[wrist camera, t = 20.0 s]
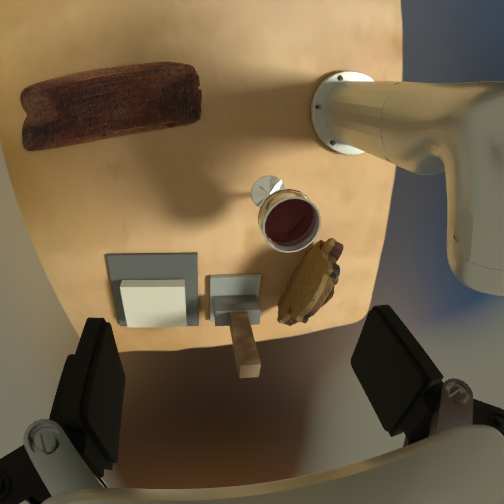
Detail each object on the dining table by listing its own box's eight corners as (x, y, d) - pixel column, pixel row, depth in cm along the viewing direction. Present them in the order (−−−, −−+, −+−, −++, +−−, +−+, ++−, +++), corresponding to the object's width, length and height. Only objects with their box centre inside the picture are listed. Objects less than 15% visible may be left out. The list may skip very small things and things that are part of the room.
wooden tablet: (202, 58, 33) (201, 132, 37) (202, 61, 35) (201, 133, 39) (18, 87, 29) (18, 155, 32) (25, 88, 31) (25, 153, 35)
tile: (184, 286, 46) (186, 326, 50) (184, 278, 48) (186, 318, 52) (119, 287, 44) (127, 327, 48) (122, 278, 46) (129, 318, 50)
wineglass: (242, 213, 45) (258, 253, 35) (247, 168, 42) (265, 194, 32) (287, 215, 47) (315, 253, 36) (294, 171, 43) (326, 198, 33)
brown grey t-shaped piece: (256, 294, 51) (277, 361, 38) (254, 309, 53) (274, 376, 40) (213, 295, 50) (223, 365, 37) (213, 310, 51) (222, 380, 38)
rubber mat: (197, 252, 47) (197, 254, 46) (198, 323, 53) (198, 325, 53) (107, 253, 44) (106, 255, 44) (120, 323, 51) (120, 326, 50)
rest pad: (260, 273, 51) (261, 276, 50) (255, 317, 55) (256, 319, 54) (210, 274, 49) (210, 277, 48) (210, 318, 53) (210, 321, 52)
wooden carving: (292, 310, 56) (309, 349, 47) (269, 305, 54) (284, 345, 45) (335, 230, 49) (363, 260, 41) (311, 221, 48) (337, 252, 39)
